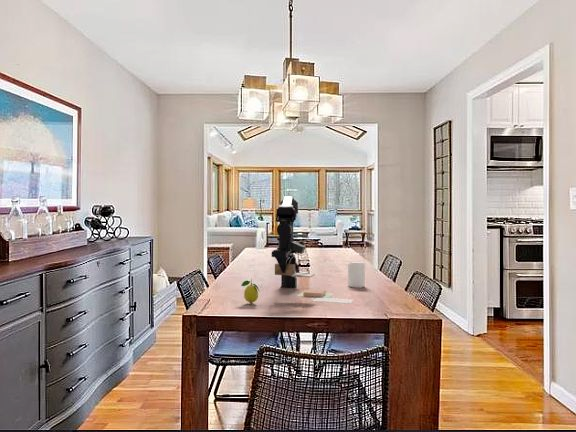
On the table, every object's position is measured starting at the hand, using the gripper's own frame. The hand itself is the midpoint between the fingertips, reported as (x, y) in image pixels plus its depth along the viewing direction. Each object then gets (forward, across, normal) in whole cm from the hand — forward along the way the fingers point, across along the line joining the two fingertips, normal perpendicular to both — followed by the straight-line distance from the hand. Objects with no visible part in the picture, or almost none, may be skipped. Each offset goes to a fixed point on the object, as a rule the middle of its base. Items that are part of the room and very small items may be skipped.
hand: (284, 272), depth 218 cm
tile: (+10, +13, -11) cm, 20 cm away
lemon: (+11, -16, +9) cm, 22 cm away
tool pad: (+11, +1, -21) cm, 24 cm away
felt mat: (+11, +10, -11) cm, 19 cm away
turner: (+1, 0, -4) cm, 4 cm away
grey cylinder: (+11, +40, -24) cm, 48 cm away
